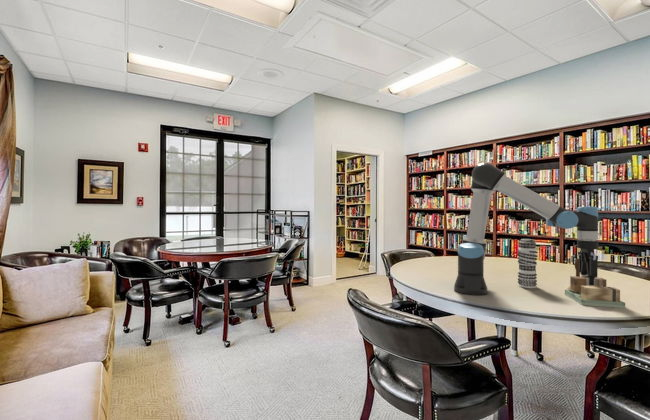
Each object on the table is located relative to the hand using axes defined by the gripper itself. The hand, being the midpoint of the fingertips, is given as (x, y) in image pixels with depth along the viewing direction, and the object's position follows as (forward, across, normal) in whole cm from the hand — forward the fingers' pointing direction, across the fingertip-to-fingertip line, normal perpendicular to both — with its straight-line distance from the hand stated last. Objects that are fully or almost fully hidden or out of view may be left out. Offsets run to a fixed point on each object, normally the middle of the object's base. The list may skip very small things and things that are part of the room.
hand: (587, 290), depth 146 cm
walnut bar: (0, 0, 0) cm, 0 cm away
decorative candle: (+3, +16, +20) cm, 26 cm away
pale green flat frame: (+3, -5, 0) cm, 6 cm away
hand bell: (+4, +15, -2) cm, 16 cm away
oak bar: (+2, -10, 0) cm, 10 cm away
